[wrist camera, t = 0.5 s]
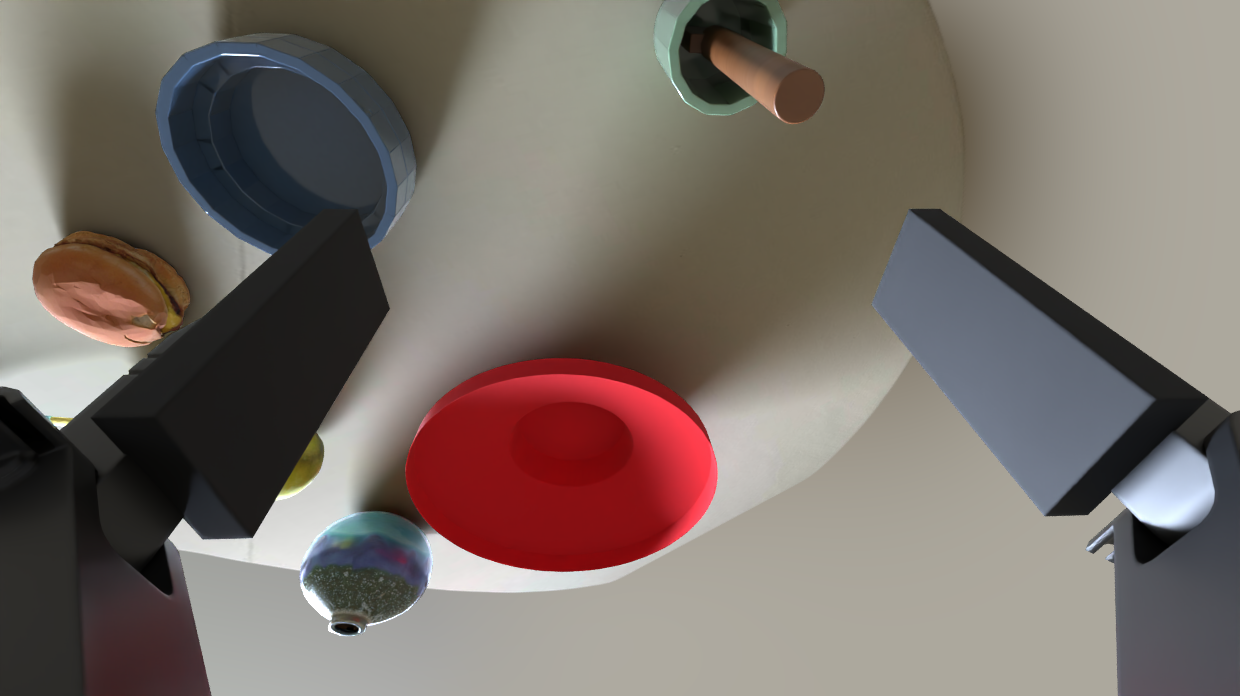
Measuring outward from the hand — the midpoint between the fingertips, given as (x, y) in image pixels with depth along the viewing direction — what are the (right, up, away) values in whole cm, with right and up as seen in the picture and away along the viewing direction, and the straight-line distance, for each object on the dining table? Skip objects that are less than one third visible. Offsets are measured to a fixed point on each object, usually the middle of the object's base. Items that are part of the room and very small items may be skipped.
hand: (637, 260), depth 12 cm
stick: (+5, +19, +21) cm, 29 cm away
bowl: (-6, -10, +44) cm, 46 cm away
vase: (-33, -27, +56) cm, 70 cm away
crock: (+5, +19, +22) cm, 29 cm away
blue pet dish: (-23, +13, +25) cm, 36 cm away
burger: (-44, +4, +31) cm, 54 cm away
